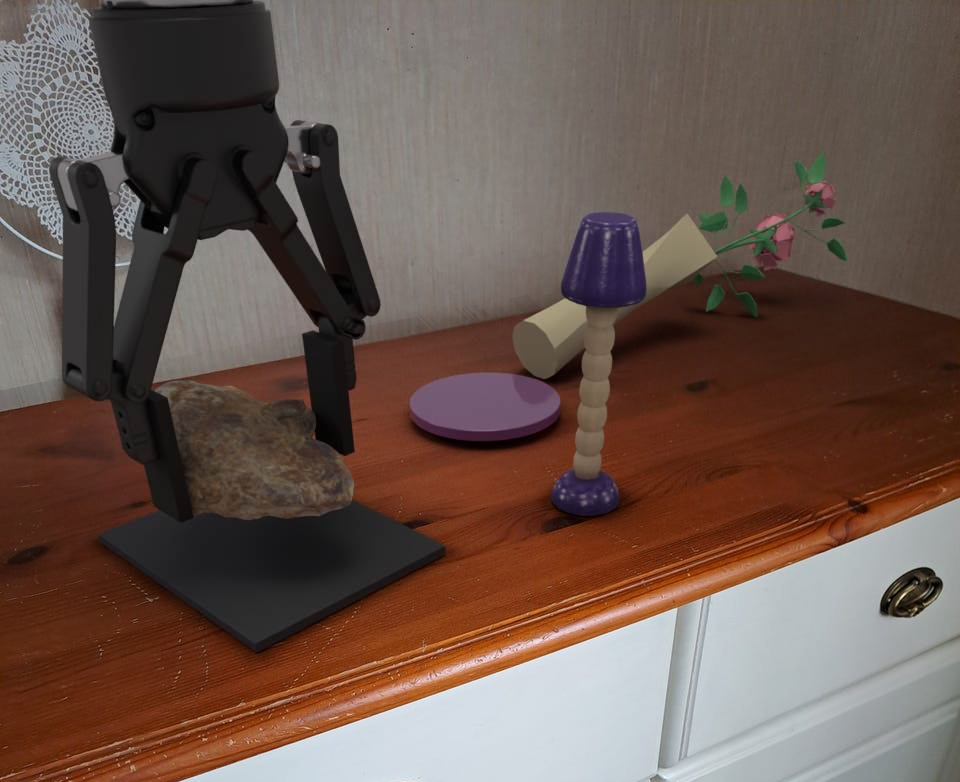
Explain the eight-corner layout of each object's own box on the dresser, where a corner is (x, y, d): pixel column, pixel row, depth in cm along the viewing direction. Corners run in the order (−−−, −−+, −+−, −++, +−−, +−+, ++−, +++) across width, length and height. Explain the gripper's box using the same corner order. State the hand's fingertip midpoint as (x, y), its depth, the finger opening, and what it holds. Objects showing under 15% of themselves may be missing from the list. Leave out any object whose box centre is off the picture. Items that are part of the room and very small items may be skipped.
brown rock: (192, 550, 48) (171, 459, 45) (141, 453, 57) (121, 372, 54) (370, 505, 51) (362, 418, 48) (296, 421, 60) (285, 343, 57)
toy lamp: (623, 484, 62) (644, 205, 52) (633, 519, 58) (659, 226, 49) (548, 485, 62) (556, 207, 52) (554, 521, 58) (564, 228, 49)
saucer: (379, 419, 71) (378, 401, 70) (484, 378, 78) (483, 361, 77) (486, 464, 65) (486, 444, 64) (591, 415, 71) (592, 397, 70)
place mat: (100, 542, 57) (97, 533, 57) (280, 470, 65) (279, 462, 64) (256, 653, 48) (254, 643, 48) (445, 554, 56) (445, 545, 55)
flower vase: (524, 445, 85) (765, 274, 99) (622, 450, 75) (874, 260, 89) (473, 316, 79) (735, 154, 93) (572, 304, 70) (848, 125, 83)
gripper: (-62, 16, 32) (103, 583, 45) (435, -14, 45) (452, 434, 58) (-140, 10, 36) (31, 529, 49) (334, -16, 49) (371, 401, 62)
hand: (258, 478), depth 54 cm, fingers closed on brown rock, 10 cm apart
